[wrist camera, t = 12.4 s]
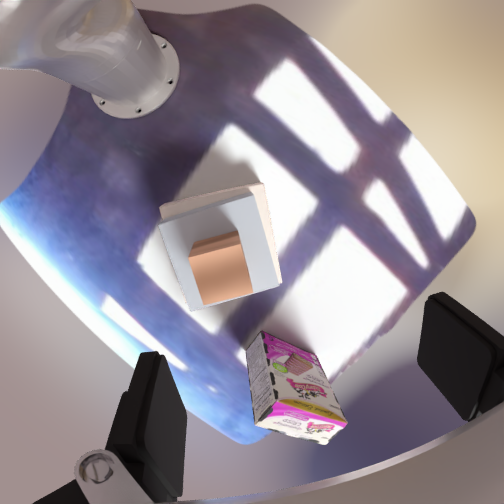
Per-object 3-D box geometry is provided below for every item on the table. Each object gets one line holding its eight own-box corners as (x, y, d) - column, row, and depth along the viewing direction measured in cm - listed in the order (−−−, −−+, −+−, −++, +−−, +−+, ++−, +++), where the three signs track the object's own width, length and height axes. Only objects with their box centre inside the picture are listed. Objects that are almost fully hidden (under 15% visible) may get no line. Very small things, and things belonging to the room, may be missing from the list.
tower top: (164, 218, 37) (157, 225, 34) (250, 191, 37) (254, 195, 34) (193, 297, 41) (190, 311, 37) (274, 273, 41) (279, 285, 37)
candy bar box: (318, 353, 49) (350, 423, 33) (300, 375, 50) (325, 447, 34) (260, 327, 47) (277, 400, 31) (243, 351, 48) (252, 427, 32)
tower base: (165, 202, 41) (159, 207, 37) (260, 181, 41) (263, 183, 37) (188, 291, 45) (185, 303, 41) (277, 272, 45) (282, 282, 41)
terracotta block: (194, 242, 34) (187, 257, 29) (237, 230, 35) (240, 244, 29) (206, 282, 36) (203, 305, 30) (249, 271, 36) (253, 292, 30)
